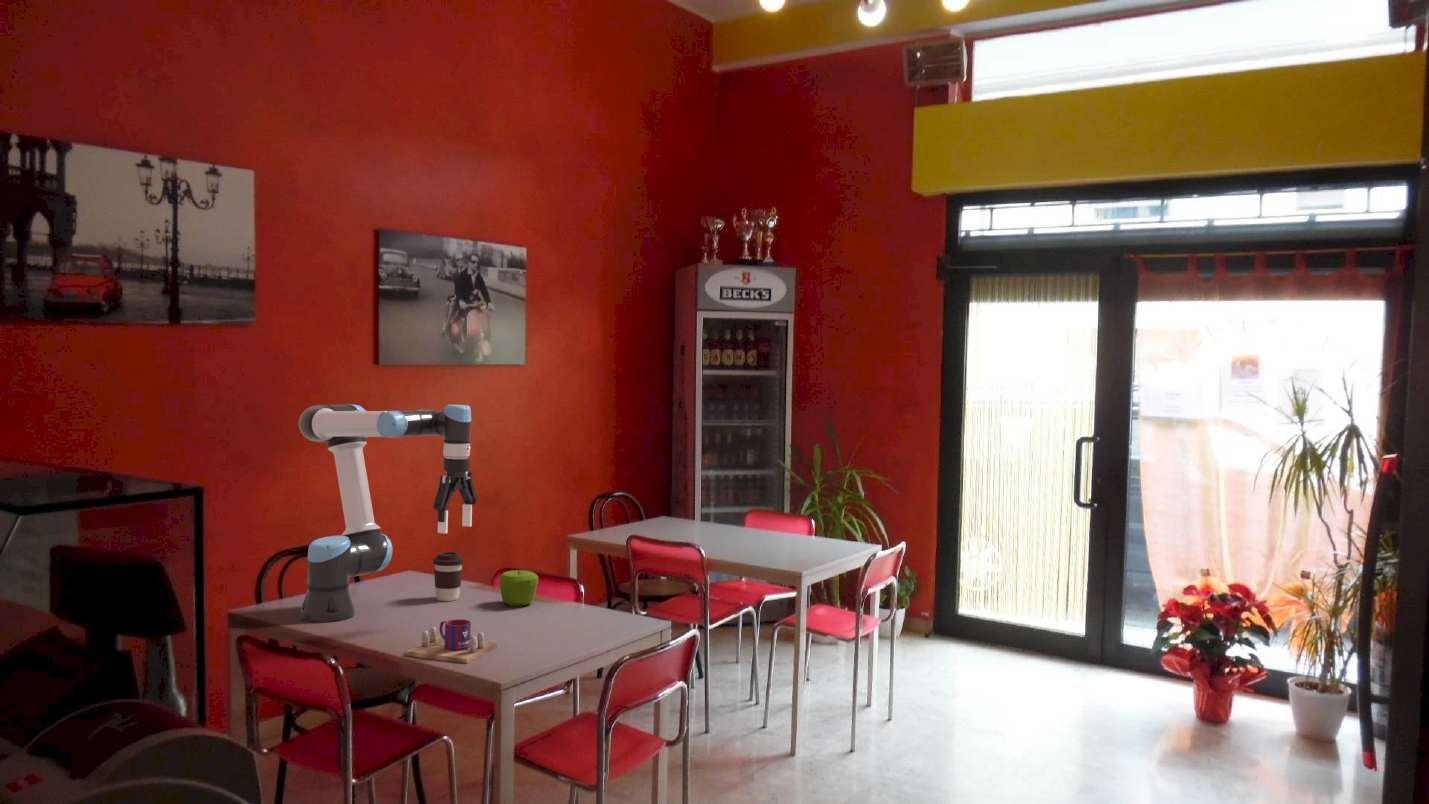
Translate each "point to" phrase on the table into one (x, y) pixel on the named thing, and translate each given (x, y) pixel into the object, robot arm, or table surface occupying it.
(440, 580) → the coffee cup
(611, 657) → the table surface
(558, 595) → the table surface
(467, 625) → the cup
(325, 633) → the table surface
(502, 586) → the apple
